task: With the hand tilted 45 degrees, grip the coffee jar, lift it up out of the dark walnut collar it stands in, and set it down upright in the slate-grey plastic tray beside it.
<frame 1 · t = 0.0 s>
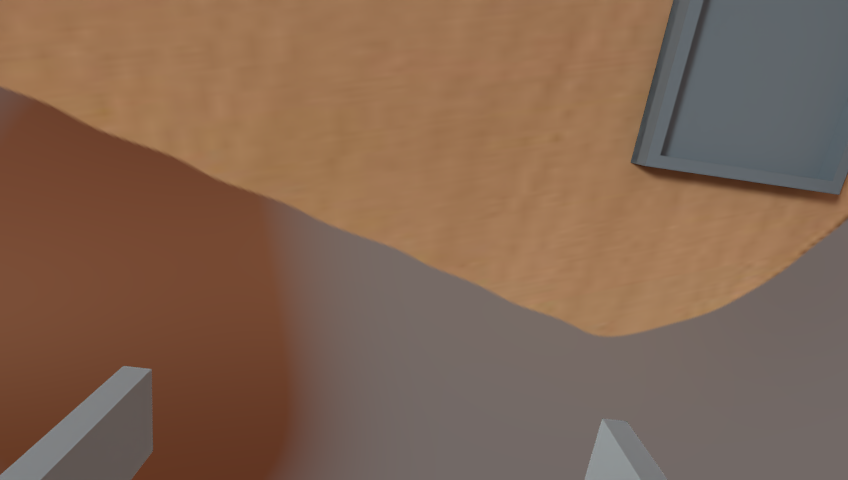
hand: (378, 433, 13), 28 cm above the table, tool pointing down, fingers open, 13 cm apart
grey tray: (755, 74, 38), on the table
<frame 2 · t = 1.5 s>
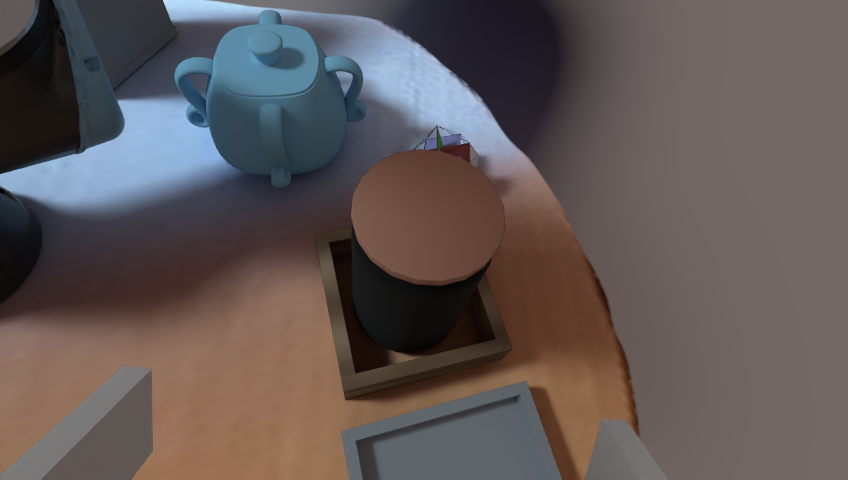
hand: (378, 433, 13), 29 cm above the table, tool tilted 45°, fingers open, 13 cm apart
coffee jar: (405, 305, 47), resting in walnut collar
upright grey slab box: (122, 59, 58), on the table
walnut collar: (405, 304, 47), on the table
geometric puzzle: (438, 177, 55), on the table
decorative pot: (284, 137, 55), on the table
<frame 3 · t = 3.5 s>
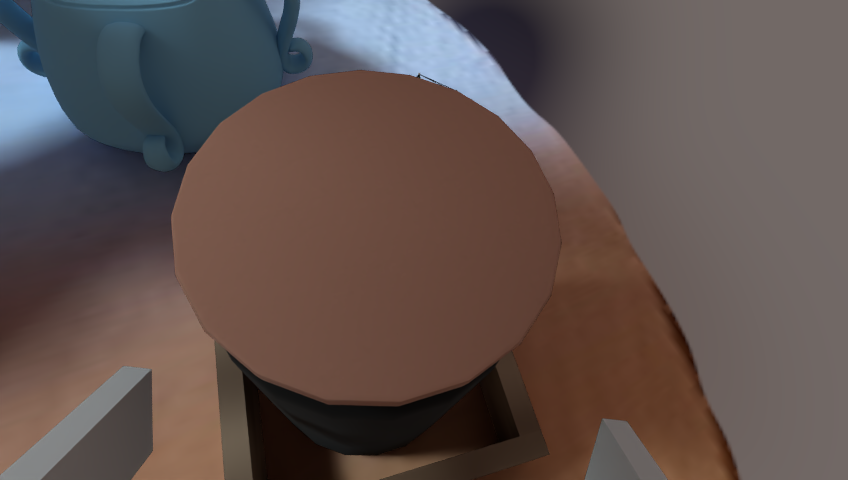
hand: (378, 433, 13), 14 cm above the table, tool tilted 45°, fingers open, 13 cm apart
coffee jar: (366, 363, 28), resting in walnut collar
walnut collar: (367, 362, 28), on the table
decorative pot: (193, 99, 37), on the table
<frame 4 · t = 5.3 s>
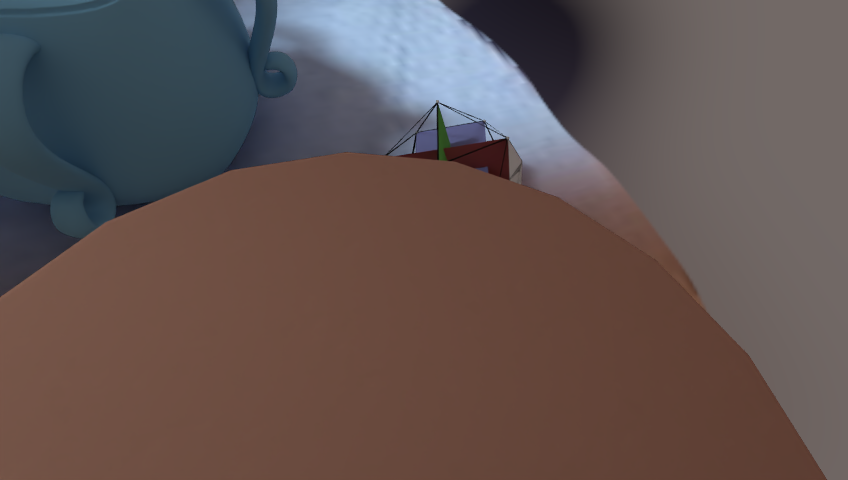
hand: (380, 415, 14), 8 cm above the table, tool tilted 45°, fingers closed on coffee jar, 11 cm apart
geometric puzzle: (441, 205, 29), on the table
decorative pot: (144, 129, 29), on the table
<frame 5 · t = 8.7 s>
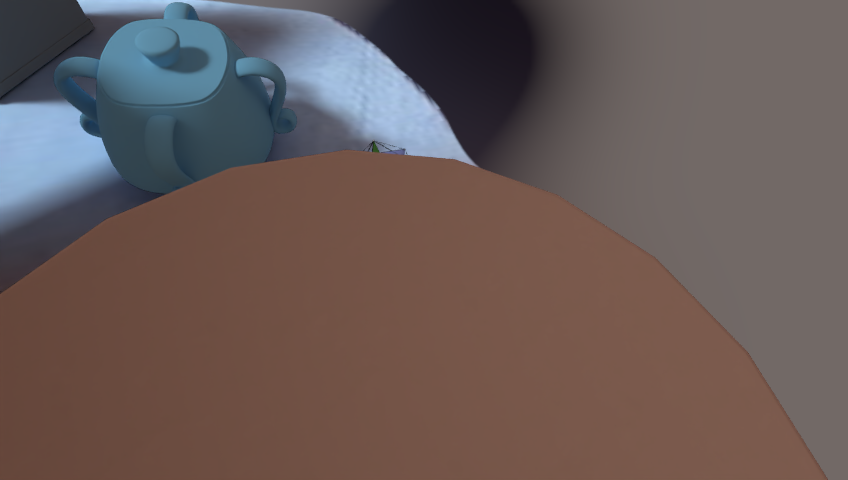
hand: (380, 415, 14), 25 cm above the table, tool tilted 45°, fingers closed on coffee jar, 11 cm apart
upright grey slab box: (27, 55, 51), on the table
decorative pot: (205, 149, 48), on the table
when the fingers open (11 cm above the table, at t = 12.4 s): coffee jar drops 1 cm, resting on grey tray.
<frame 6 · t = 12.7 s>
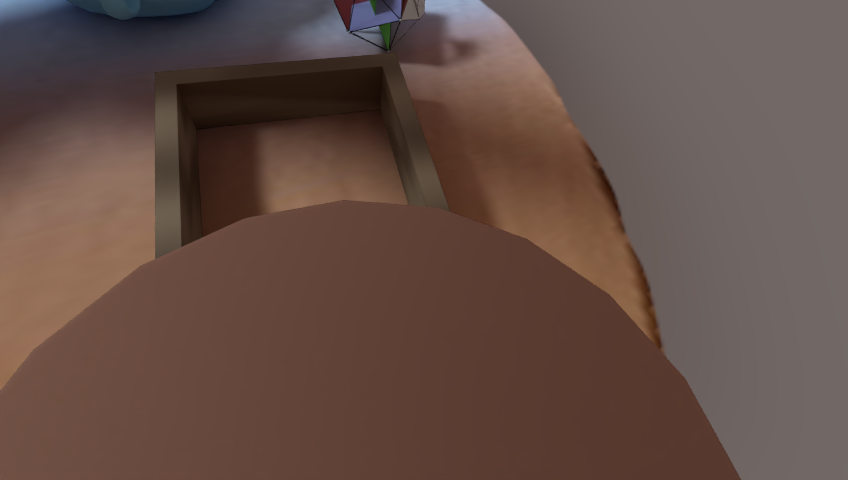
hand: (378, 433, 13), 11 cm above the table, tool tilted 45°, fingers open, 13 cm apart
walnut collar: (305, 191, 30), on the table
geometric puzzle: (375, 36, 39), on the table
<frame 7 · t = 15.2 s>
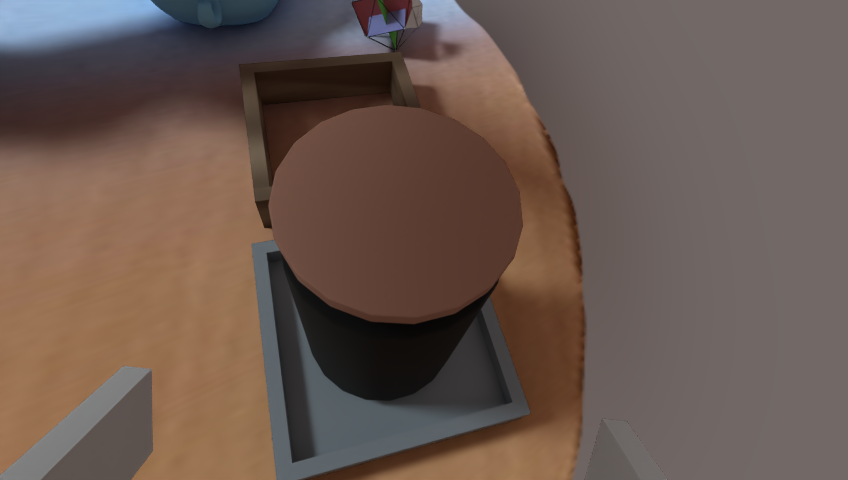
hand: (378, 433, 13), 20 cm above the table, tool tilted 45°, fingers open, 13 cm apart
grey tray: (382, 334, 36), on the table
coffee jar: (381, 331, 35), point 1 cm above the table, touching grey tray
walnut collar: (339, 146, 44), on the table
geometric puzzle: (385, 39, 53), on the table
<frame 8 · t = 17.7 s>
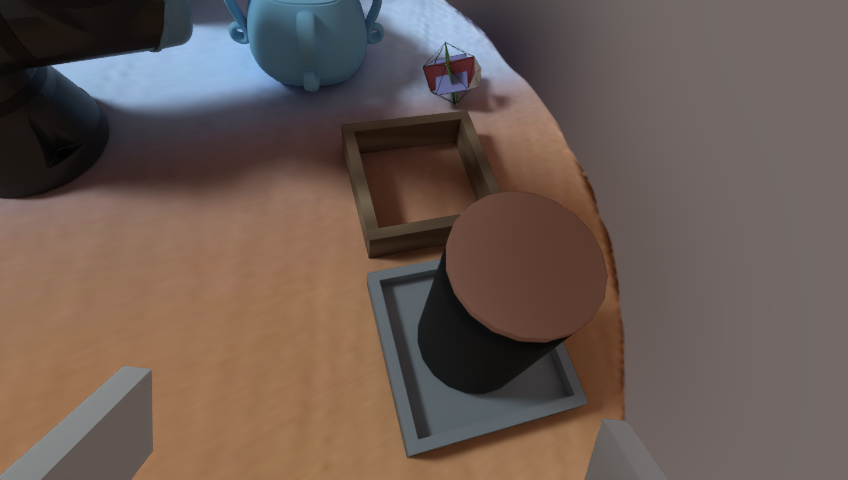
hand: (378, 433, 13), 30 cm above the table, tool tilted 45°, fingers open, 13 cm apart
grey tray: (468, 343, 46), on the table
coffee jar: (469, 341, 45), point 1 cm above the table, touching grey tray
walnut collar: (419, 189, 54), on the table
geometric puzzle: (446, 93, 63), on the table
decorative pot: (311, 59, 63), on the table
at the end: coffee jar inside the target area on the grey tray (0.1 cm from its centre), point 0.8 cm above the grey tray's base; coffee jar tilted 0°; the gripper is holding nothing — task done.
